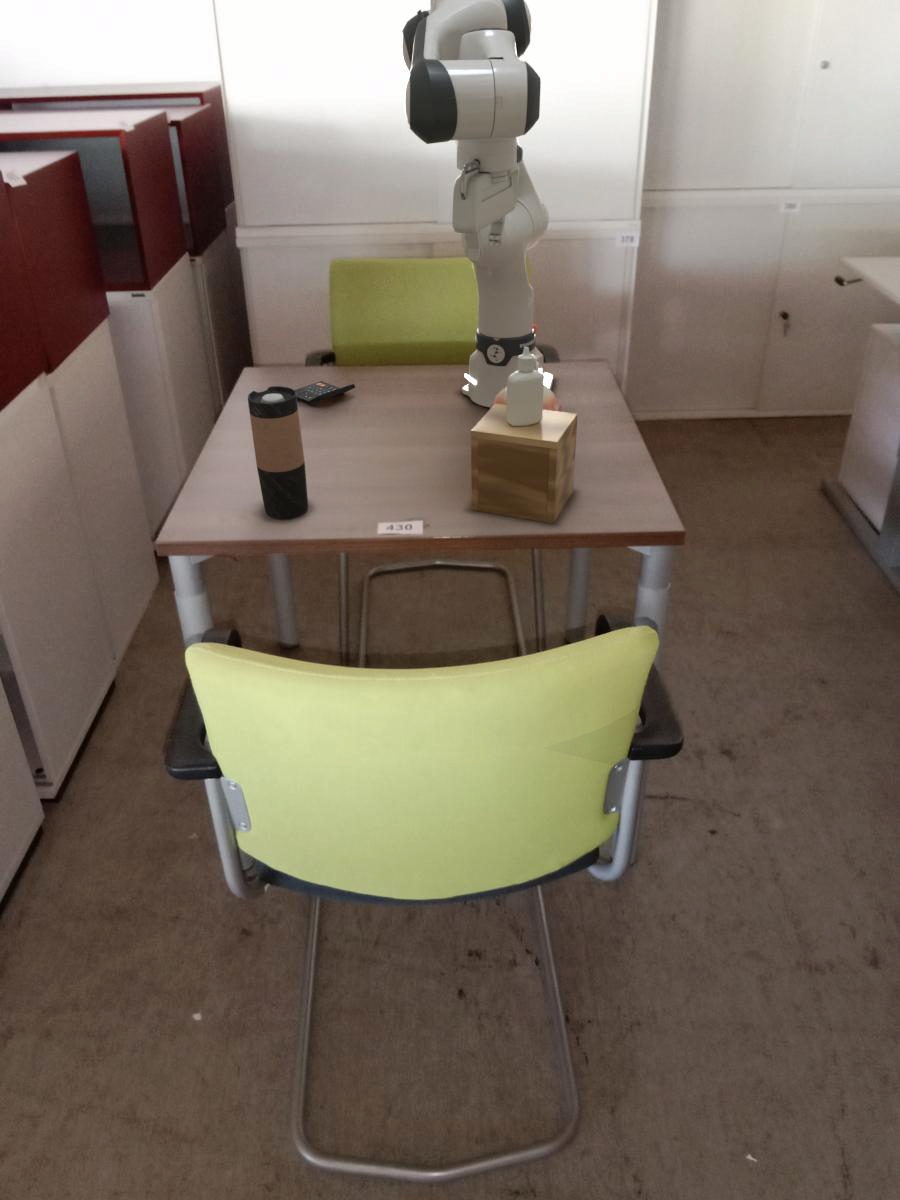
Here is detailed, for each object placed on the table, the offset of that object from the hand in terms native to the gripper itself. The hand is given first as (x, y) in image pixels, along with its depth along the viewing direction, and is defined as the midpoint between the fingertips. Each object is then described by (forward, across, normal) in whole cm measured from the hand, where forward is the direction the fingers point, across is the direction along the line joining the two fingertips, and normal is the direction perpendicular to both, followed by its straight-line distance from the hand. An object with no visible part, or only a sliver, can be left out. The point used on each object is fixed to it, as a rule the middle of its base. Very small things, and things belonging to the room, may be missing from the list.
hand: (485, 252), depth 146 cm
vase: (+37, +10, -4) cm, 39 cm away
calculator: (+38, +22, +44) cm, 62 cm away
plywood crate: (+37, -10, -10) cm, 40 cm away
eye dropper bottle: (+23, -10, -10) cm, 27 cm away
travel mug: (+38, -26, +26) cm, 52 cm away
